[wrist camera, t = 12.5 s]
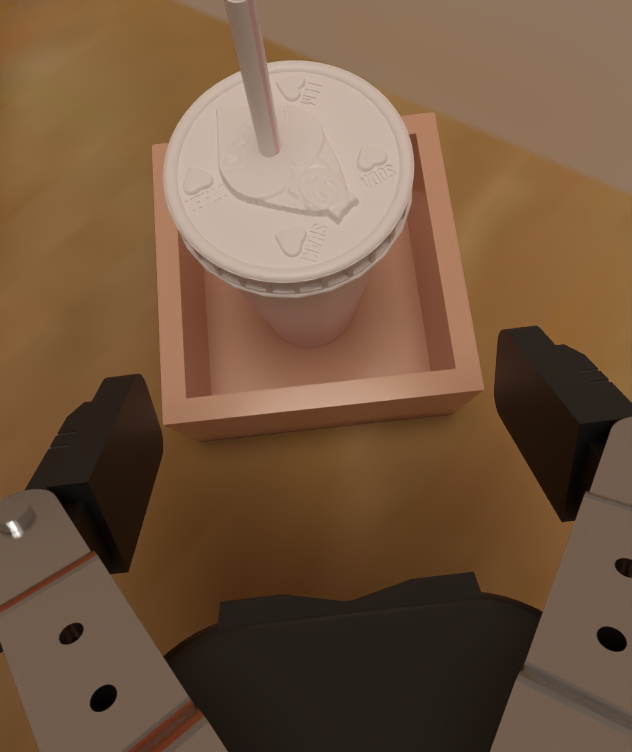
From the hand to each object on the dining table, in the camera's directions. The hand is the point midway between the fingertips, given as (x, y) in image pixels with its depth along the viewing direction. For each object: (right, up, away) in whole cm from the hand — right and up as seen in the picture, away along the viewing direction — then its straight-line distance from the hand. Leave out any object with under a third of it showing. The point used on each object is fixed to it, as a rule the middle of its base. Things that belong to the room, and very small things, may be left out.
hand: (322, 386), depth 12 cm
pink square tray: (0, +3, +11) cm, 12 cm away
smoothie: (0, +3, +11) cm, 11 cm away
